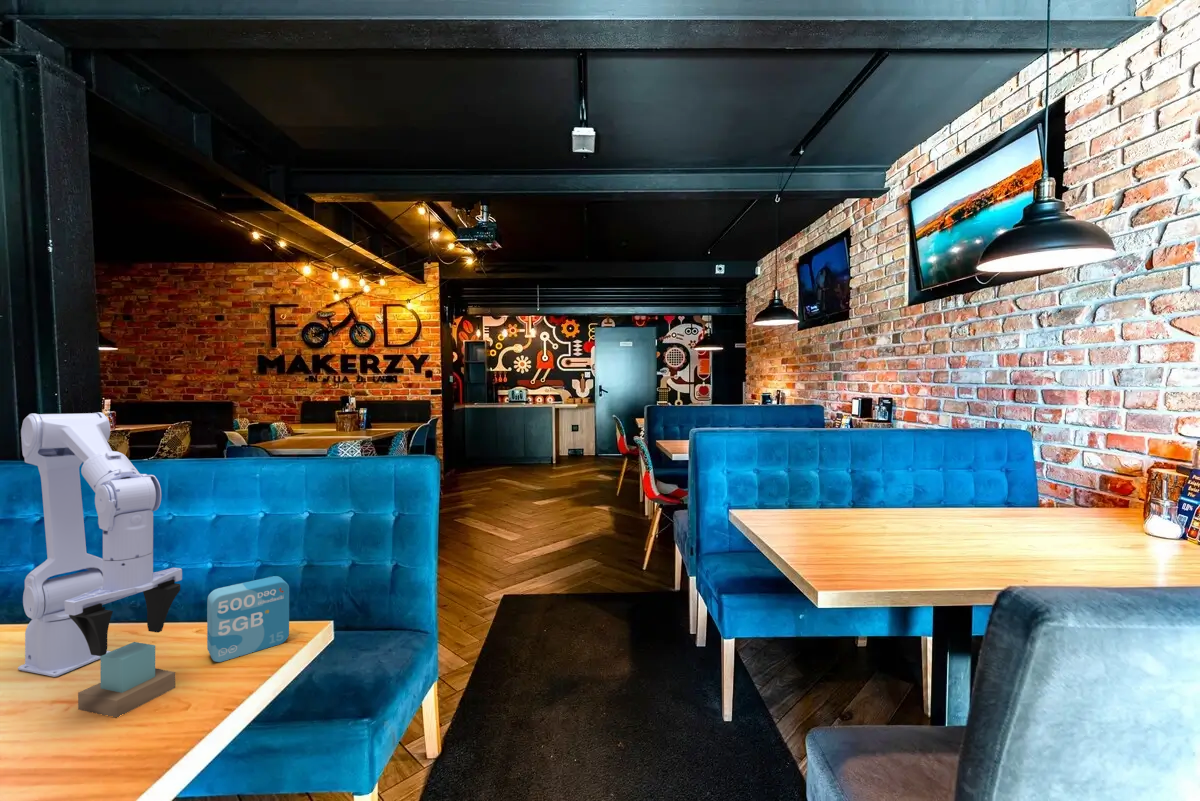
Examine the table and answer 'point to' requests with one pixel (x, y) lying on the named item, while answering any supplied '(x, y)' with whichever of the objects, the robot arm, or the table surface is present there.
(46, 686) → the table surface
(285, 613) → the data package
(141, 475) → the robot arm
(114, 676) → the teal block
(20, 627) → the table surface
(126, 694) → the walnut block
